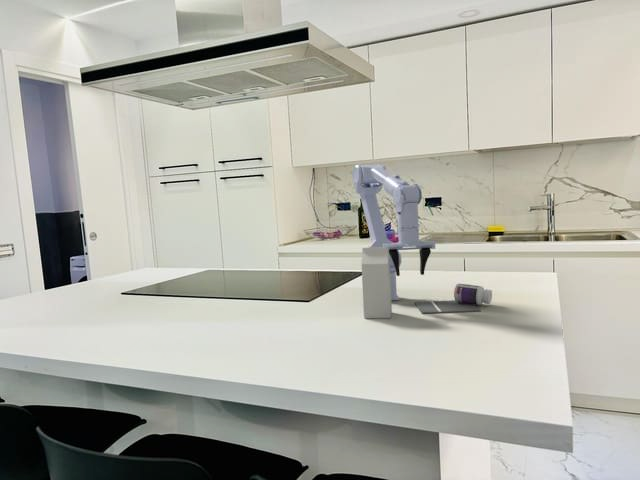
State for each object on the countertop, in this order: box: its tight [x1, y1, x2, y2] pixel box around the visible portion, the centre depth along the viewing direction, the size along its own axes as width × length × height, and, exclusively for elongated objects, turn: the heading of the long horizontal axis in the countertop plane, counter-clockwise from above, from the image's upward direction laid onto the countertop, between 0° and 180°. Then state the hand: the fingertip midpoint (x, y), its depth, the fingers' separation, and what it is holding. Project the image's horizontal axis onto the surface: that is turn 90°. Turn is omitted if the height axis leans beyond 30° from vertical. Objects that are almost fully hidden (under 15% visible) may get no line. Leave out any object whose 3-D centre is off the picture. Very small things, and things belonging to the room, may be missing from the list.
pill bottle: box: [453, 283, 493, 306], centre depth 143 cm, size 5×5×10 cm
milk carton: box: [361, 247, 393, 319], centre depth 136 cm, size 7×7×19 cm
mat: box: [414, 299, 482, 315], centre depth 142 cm, size 16×13×1 cm
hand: (410, 274), depth 142 cm, fingers open, 6 cm apart
